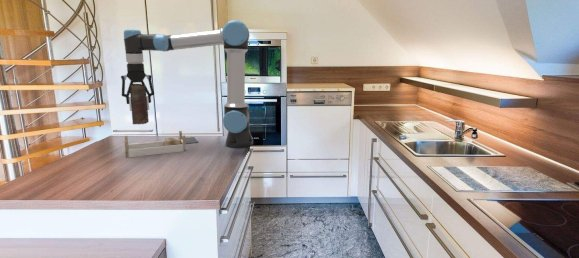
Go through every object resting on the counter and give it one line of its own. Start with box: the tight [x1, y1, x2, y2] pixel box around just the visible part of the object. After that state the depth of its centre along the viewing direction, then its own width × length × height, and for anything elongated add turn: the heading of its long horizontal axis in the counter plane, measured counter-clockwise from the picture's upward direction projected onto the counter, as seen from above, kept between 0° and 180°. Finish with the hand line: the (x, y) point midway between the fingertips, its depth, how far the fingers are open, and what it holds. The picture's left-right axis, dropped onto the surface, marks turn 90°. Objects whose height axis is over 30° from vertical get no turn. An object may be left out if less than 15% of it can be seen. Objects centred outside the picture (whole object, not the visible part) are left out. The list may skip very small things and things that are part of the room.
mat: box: [177, 136, 199, 145], centre depth 190 cm, size 14×14×1 cm
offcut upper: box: [164, 136, 180, 146], centre depth 173 cm, size 6×7×3 cm
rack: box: [124, 130, 187, 158], centre depth 170 cm, size 28×13×8 cm, turn 116°
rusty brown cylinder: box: [129, 83, 150, 125], centre depth 163 cm, size 8×7×20 cm
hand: (139, 109), depth 163 cm, fingers closed on rusty brown cylinder, 7 cm apart
